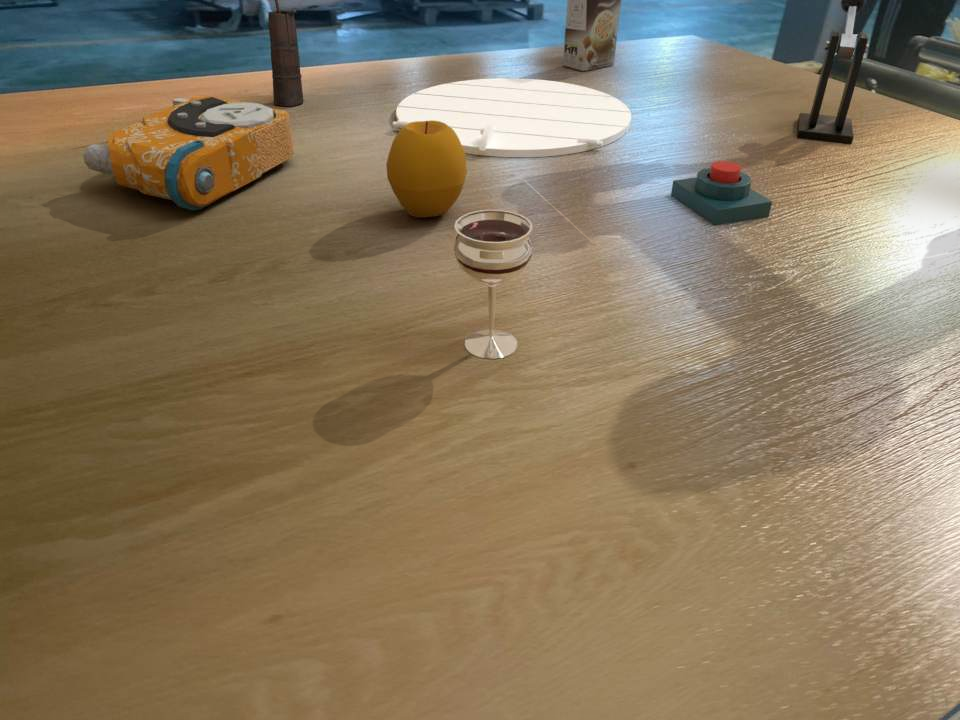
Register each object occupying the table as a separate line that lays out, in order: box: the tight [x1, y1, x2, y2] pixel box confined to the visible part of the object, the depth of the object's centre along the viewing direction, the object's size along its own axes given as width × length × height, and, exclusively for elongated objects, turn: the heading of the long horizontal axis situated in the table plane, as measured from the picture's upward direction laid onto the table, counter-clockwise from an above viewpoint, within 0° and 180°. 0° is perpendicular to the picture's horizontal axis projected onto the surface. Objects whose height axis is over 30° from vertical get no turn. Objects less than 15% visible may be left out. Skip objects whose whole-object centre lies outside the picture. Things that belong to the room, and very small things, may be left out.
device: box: [83, 94, 295, 211], centre depth 105 cm, size 23×8×30 cm
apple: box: [386, 120, 468, 218], centre depth 92 cm, size 10×10×12 cm
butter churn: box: [267, 0, 305, 107], centre depth 126 cm, size 9×10×28 cm
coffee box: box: [562, 0, 622, 72], centre depth 152 cm, size 9×6×16 cm
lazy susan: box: [392, 77, 632, 158], centre depth 127 cm, size 40×39×3 cm
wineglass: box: [453, 209, 533, 360], centre depth 68 cm, size 7×7×12 cm
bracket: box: [796, 29, 870, 145], centre depth 119 cm, size 10×8×15 cm
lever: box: [835, 0, 867, 61], centre depth 118 cm, size 13×4×4 cm, turn 160°
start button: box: [709, 160, 742, 184], centre depth 95 cm, size 4×4×2 cm
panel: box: [670, 167, 773, 227], centre depth 97 cm, size 10×8×4 cm
